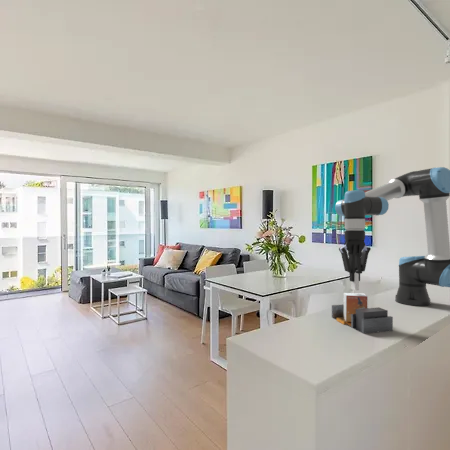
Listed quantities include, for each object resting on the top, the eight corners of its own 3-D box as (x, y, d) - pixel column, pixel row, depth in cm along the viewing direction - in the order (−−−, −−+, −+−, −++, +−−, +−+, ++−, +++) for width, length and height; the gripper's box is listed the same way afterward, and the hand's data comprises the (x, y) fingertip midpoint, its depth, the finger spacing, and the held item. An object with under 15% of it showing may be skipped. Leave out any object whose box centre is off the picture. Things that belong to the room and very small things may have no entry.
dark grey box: (379, 326, 119) (379, 307, 119) (387, 329, 115) (387, 310, 115) (355, 328, 117) (355, 309, 117) (363, 332, 113) (363, 312, 113)
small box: (345, 322, 123) (345, 295, 123) (343, 318, 129) (343, 292, 129) (367, 323, 122) (367, 296, 122) (364, 319, 127) (364, 292, 127)
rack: (357, 317, 133) (357, 303, 133) (392, 333, 114) (392, 316, 114) (330, 319, 130) (330, 305, 130) (361, 336, 111) (361, 319, 111)
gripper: (362, 229, 130) (363, 287, 130) (334, 229, 127) (334, 288, 127) (375, 229, 123) (375, 290, 123) (345, 230, 120) (345, 292, 120)
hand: (354, 289), depth 125 cm, fingers closed
